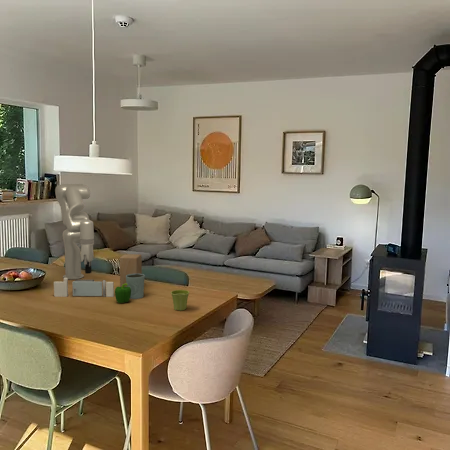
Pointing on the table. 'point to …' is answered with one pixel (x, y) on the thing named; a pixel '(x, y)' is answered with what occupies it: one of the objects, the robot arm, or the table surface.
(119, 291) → the bell pepper
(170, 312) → the table surface
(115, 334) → the table surface
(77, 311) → the table surface
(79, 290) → the door
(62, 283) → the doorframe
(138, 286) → the grey blue cup
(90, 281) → the dark grey block
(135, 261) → the wooden block
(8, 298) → the table surface
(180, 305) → the plant pot
